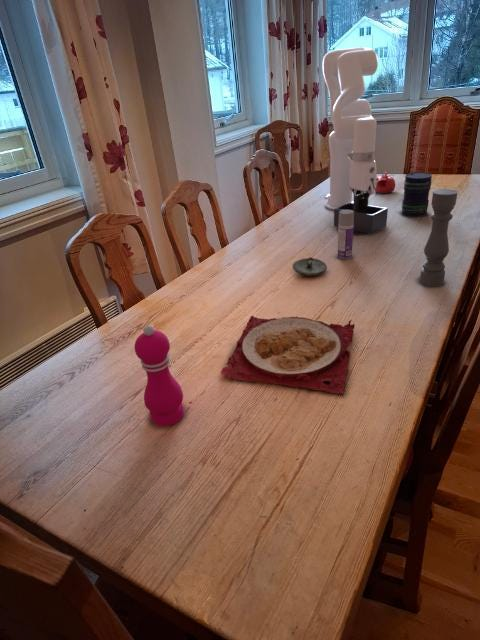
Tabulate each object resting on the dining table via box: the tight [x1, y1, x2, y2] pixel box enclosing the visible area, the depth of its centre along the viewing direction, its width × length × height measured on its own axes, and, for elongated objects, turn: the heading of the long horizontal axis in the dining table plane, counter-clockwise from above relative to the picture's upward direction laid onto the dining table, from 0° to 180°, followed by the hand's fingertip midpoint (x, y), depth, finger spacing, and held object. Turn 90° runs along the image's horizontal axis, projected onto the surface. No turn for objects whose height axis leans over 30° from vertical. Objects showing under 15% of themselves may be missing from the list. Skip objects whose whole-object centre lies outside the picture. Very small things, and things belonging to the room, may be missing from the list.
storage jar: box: [400, 171, 433, 218], centre depth 169 cm, size 10×10×15 cm
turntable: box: [353, 230, 381, 236], centre depth 164 cm, size 16×16×1 cm
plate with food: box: [220, 315, 356, 395], centre depth 96 cm, size 24×26×4 cm
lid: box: [292, 257, 328, 277], centre depth 133 cm, size 11×10×5 cm
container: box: [337, 210, 354, 260], centre depth 137 cm, size 5×5×15 cm
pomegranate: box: [374, 171, 396, 194], centre depth 202 cm, size 10×10×9 cm
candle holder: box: [419, 188, 458, 288], centre depth 114 cm, size 6×6×25 cm
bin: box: [333, 192, 389, 235], centre depth 160 cm, size 17×10×12 cm, turn 44°
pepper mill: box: [134, 324, 185, 427], centre depth 77 cm, size 7×7×20 cm
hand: (360, 208), depth 160 cm, fingers closed, pressing on bin
